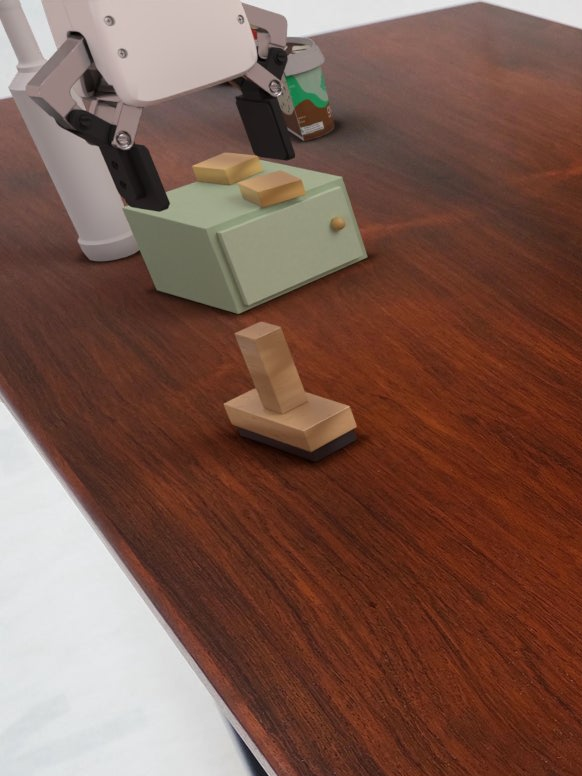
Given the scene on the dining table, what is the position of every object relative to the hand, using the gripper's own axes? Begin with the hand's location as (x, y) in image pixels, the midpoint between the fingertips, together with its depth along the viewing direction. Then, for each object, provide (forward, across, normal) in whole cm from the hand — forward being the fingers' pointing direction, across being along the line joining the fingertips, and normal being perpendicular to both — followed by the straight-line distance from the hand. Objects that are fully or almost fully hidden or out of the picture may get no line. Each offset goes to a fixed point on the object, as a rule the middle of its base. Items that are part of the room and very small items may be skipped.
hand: (215, 181), depth 83 cm
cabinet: (+20, -22, -30) cm, 42 cm away
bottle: (+20, -21, -49) cm, 57 cm away
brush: (+20, 0, -2) cm, 20 cm away
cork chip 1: (+12, -25, -34) cm, 44 cm away
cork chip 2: (+12, -23, -25) cm, 36 cm away
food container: (+20, -59, -62) cm, 87 cm away
